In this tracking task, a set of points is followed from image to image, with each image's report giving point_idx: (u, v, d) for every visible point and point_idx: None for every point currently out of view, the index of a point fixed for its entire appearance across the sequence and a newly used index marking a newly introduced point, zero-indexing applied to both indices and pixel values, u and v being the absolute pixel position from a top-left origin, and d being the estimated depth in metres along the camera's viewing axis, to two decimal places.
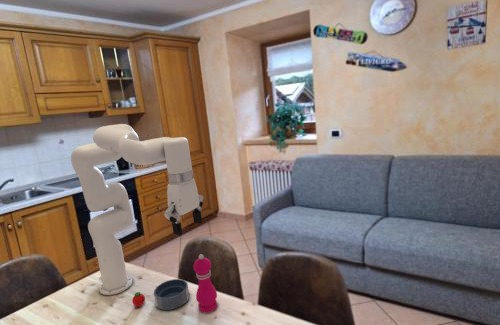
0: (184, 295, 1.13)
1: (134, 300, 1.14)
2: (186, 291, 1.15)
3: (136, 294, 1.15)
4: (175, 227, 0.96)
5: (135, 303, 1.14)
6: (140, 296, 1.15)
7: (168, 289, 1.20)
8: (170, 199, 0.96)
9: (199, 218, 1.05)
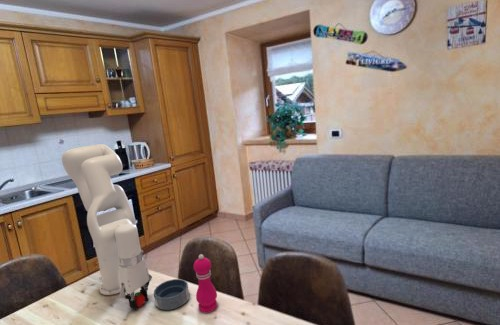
0: (184, 295, 1.13)
1: None
2: (186, 291, 1.15)
3: (136, 294, 1.15)
4: (131, 303, 1.12)
5: None
6: (140, 296, 1.15)
7: (168, 289, 1.20)
8: (120, 280, 1.10)
9: (145, 297, 1.17)
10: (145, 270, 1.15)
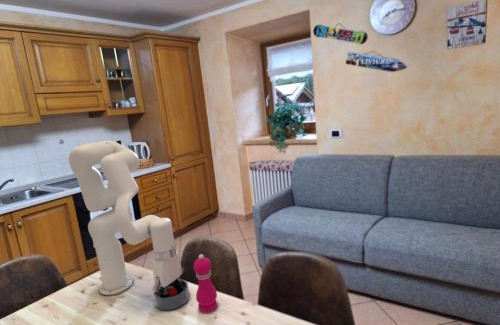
0: (184, 295, 1.13)
1: None
2: (186, 291, 1.15)
3: (168, 288, 1.16)
4: (163, 297, 1.12)
5: None
6: (172, 289, 1.15)
7: None
8: (155, 273, 1.11)
9: (179, 289, 1.18)
10: (178, 264, 1.16)
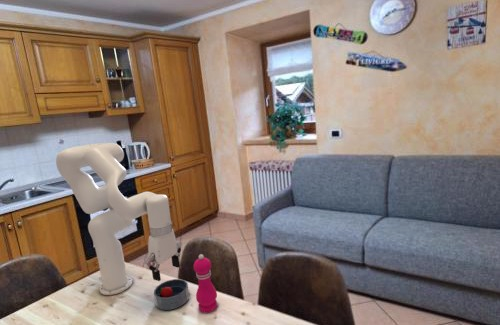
0: (184, 295, 1.13)
1: (161, 295, 1.15)
2: (186, 291, 1.15)
3: (160, 290, 1.17)
4: (154, 274, 1.09)
5: (163, 296, 1.15)
6: (163, 288, 1.17)
7: None
8: (150, 250, 1.09)
9: (177, 263, 1.18)
10: (174, 242, 1.15)
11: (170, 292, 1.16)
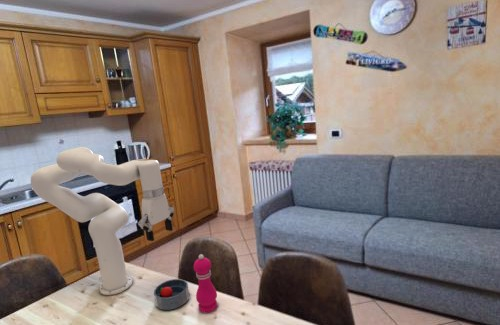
0: (184, 295, 1.13)
1: (161, 295, 1.15)
2: (186, 291, 1.15)
3: (160, 290, 1.17)
4: (148, 234, 1.16)
5: (163, 296, 1.15)
6: (163, 288, 1.17)
7: None
8: (144, 211, 1.16)
9: (170, 226, 1.25)
10: (166, 205, 1.21)
11: (170, 292, 1.16)
